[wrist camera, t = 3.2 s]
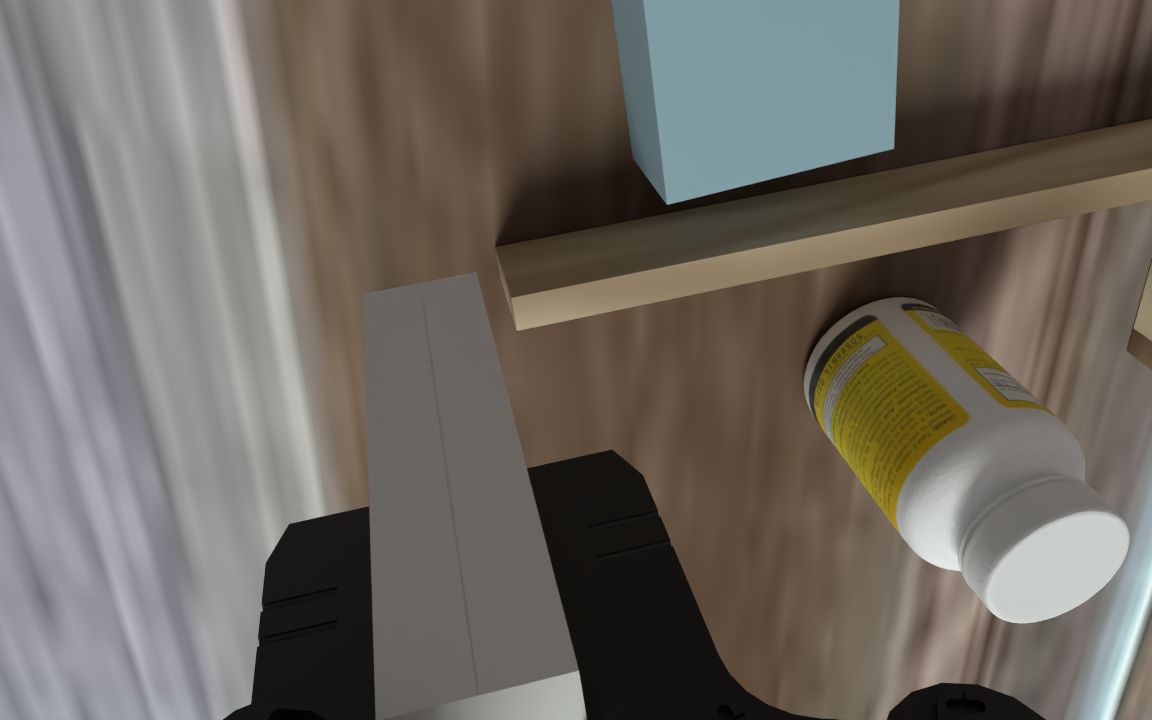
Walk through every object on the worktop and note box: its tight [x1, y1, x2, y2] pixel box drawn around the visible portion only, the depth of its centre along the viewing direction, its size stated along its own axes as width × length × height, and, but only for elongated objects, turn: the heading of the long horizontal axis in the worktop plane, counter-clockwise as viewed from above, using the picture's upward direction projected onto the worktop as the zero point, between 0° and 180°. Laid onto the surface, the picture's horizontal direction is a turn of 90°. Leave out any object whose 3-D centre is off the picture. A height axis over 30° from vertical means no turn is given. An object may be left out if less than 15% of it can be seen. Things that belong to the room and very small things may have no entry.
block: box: [611, 0, 899, 205], centre depth 23 cm, size 6×6×4 cm
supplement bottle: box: [804, 297, 1130, 623], centre depth 27 cm, size 5×5×10 cm
